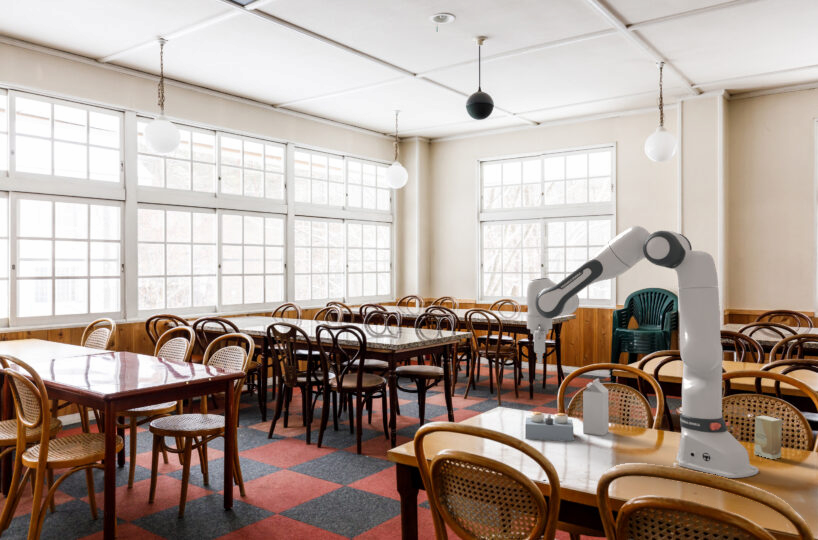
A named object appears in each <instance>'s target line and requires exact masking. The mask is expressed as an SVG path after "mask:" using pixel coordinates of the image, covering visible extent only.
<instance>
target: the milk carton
mask: <svg viewBox="0 0 818 540" xmlns="http://www.w3.org/2000/svg"><path fill="white" fill-rule="evenodd" d="M586 387H587V388H586V389H585V390H583V391H582V397H583V398H582V405H583V406H582V420H583V421H582V428H583V429H582V433H583V434H586V435H595V436H596V435H597V436H602V437H603V436H605V435H606V434H607V433H609V389H608V388H607V387H606V386H604V385H603V383H601V382H600V378H599V377H598V378H595V379H594V380H593V381H592V382H591V381H590V382H588V383H587V384H586Z"/></svg>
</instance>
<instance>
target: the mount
mask: <svg viewBox="0 0 818 540" xmlns="http://www.w3.org/2000/svg"><path fill="white" fill-rule="evenodd" d="M545 418H546V417H544V421H543V422H541V423H540V422H533V421H531V417H526V418H525V424H524V425H525V428H524V429H525V433H524V434H525V435H524V436H525V439H526V440H527V439H528V440H529V439H530V440H545V441H546V440H547V441H563V442H574V422H573V419H568V422H567V423H565V424H559V423H556V422H555V418H552V419H553V425H546V424H545Z"/></svg>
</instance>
